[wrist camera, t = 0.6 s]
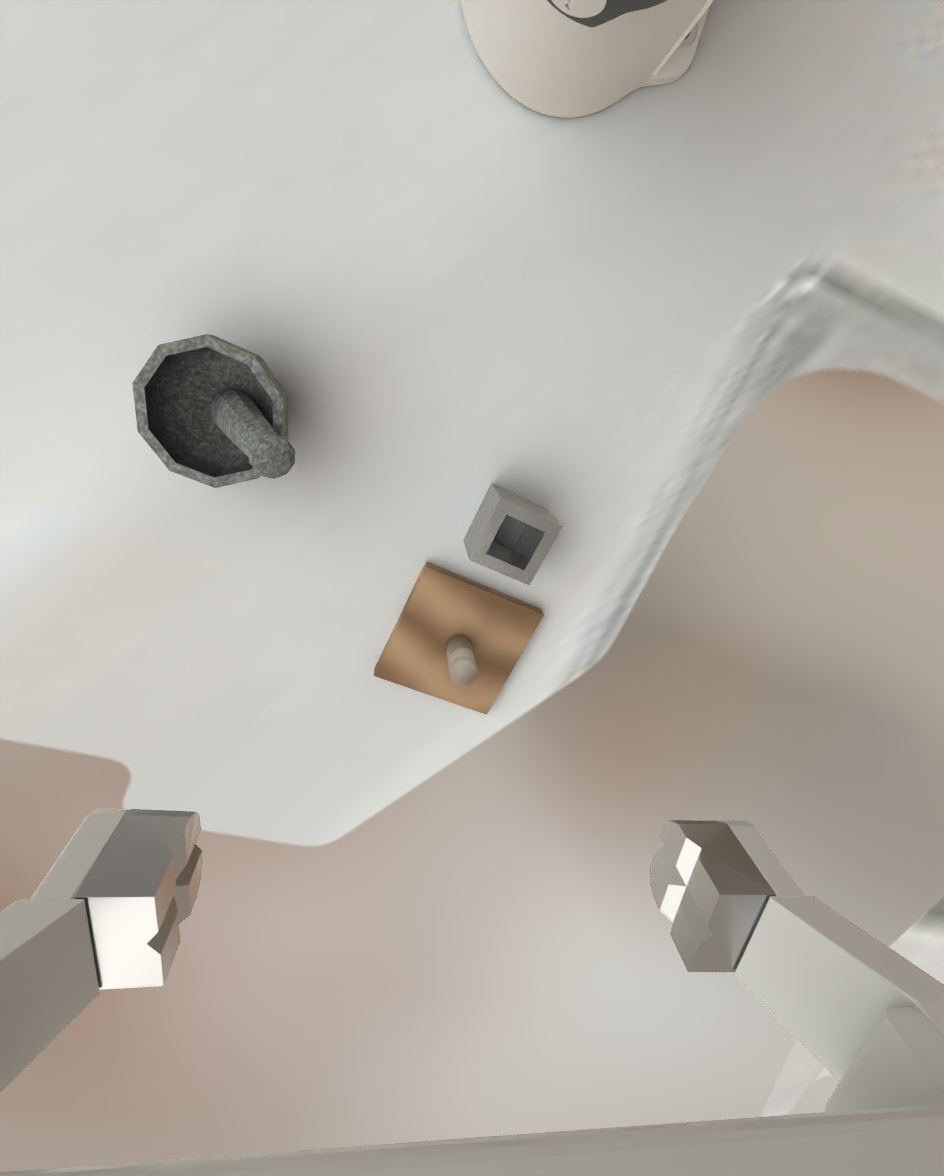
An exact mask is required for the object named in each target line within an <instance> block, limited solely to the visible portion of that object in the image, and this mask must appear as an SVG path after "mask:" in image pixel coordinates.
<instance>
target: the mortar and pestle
mask: <svg viewBox="0 0 944 1176" xmlns="http://www.w3.org/2000/svg"><path fill="white" fill-rule="evenodd" d="M133 392H134V401H135V410H136V419H137V429H138V432H139V433H140V435H141V436H142V437H143V438H144V440H145V441H146V442H147V443H148V444H149V446H150V447H151V448H152V449H153V451H154V452H155V453H156V454H157V456H158V457H159V458H160V459H161V460H162V462H163V463H164V464H165V465H166V467H167V468H168V469H169V470H170V471H172V472H175V473H177V474H180V475H182V476H185V477H188V478H190V479H193V480H196V481H198V482H201V483H204V484H206V485H209V486H212V487H214V488H217V487H221V486H226V485H230V484H235V483H239V482H243V481H248V480H252V479H257V478H259V477H260V476H265V477H269V478H273V479H274V478H277V477H280V476H282V475H285V474H287V473H288V471H289V470H290V469H291V467H292V466H293V465H294V462H295V450H294V449H293V447H292V446H291V445H290V443H289V442H288V396H287V395H286V393H285V392H284V390H283V389H282V387H281V386H280V384H279V383H278V381H277V380H276V378H275V377H274V375H273V374H272V372H271V371H270V369H269V368H268V366H267V365H266V364H265V362H264V361H263V359H262V358H261V357H260V356H258V355H256V354H254V353H252V352H249V351H247V350H245V349H243V348H240V347H238V346H236V345H234V344H231V343H229V342H227V341H225V340H222V339H220V338H218V337H216V336H213V335H202V336H197V337H193V338H188V339H184V340H179V341H174V342H170V343H165V344H161V345H158V346H157V348H156V349H155V351H154V352H153V354H152V355H151V357H150V358H149V360H148V361H147V362H146V364H145V365H144V367H143V368H142V370H141V371H140V373H139V374H138V376H137V377H136V379H135V380H134V381H133Z"/></svg>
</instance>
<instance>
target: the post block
mask: <svg viewBox="0 0 944 1176" xmlns="http://www.w3.org/2000/svg"><path fill="white" fill-rule="evenodd" d="M543 615H544V614H543V613H542V611H541V609H539V608H536V607H534V606H531V605H529V604H526V603H524V602H522V601H519V600H517V599H514V598H512V597H509V596H507V595H505V594H502V593H500V592H497V591H495V590H493V589H490V588H488V587H485V586H483V585H480V584H478V583H476V582H473V581H471V580H468V579H466V578H463V577H461V576H459V575H456V574H454V573H451V572H449V571H447V570H444V569H442V568H439V567H437V566H434V565H432V564H430V563H427V562H426V563H425V565H424V567H423V569H422V571H421V574H420V576H419V578H418V580H417V582H416V584H415V586H414V588H413V590H412V592H411V594H410V596H409V598H408V601H407V603H406V605H405V607H404V609H403V611H402V613H401V615H400V617H399V619H398V621H397V623H396V626H395V628H394V630H393V632H392V634H391V636H390V638H389V640H388V642H387V644H386V646H385V648H384V651H383V653H382V655H381V657H380V659H379V661H378V663H377V665H376V667H375V670H374V676H376V677H379V678H382V679H385V680H388V681H391V682H394V683H397V684H400V685H403V686H405V687H408V688H411V689H414V690H417V691H420V692H423V693H426V694H429V695H432V696H434V697H437V698H440V699H443V700H446V701H449V702H452V703H455V704H458V705H461V706H463V707H466V708H469V709H472V710H475V711H478V712H481V713H484V714H487V713H488V711H489V709H490V708H491V706H492V704H493V702H494V701H495V699H496V697H497V695H498V694H499V692H500V690H501V688H502V687H503V685H504V683H505V681H506V680H507V678H508V676H509V674H510V673H511V671H512V669H513V668H514V666H515V664H516V662H517V661H518V659H519V657H520V655H521V654H522V652H523V650H524V648H525V647H526V645H527V643H528V641H529V640H530V638H531V636H532V634H533V633H534V631H535V629H536V627H537V626H538V624H539V622H540V621H541V619H542V617H543Z"/></svg>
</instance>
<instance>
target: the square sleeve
mask: <svg viewBox="0 0 944 1176" xmlns="http://www.w3.org/2000/svg"><path fill="white" fill-rule="evenodd" d="M506 515H508V516H510V517H513V518H515V519H517V520H519V521H521V522H524V523H526V524H527V526H526V528H525V530H524V532H523V534H522V536H521V538H520V539H519V541H518V543H517V545H516V547H515V549H514V550H511V549H509V548H507V547H504V546H502V545H500V544H498V543H495V542H493V539H494V537H495V535H496V534H497V532H498V530H499V528H500V526H501V524H502V522H503V520H504V518H505V516H506ZM561 527H562V526H561V525H560V524H559V523H558V521H557V520H556V519H555V518H554V517H553V516H552V515H551V514H550V512H549V511H548V510H546V509H544V508H542V507H540V506H538V505H536V504H533V503H531V502H529V501H527V500H525V499H523V498H521V497H519V496H516V495H514V494H512V493H510V492H508V491H506V490H504V489H502V488H499V487H497V486H495V485H493V484H491V486H490V488H489V490H488V492H487V494H486V496H485V498H484V500H483V502H482V504H481V506H480V508H479V510H478V512H477V514H476V516H475V518H474V520H473V522H472V524H471V526H470V528H469V530H468V532H467V534H466V536H465V538H464V540H463V541H464V544H465V547H466V550H467V553H468V557H469V560H471V561H473V562H476V563H478V564H480V565H483V566H485V567H488V568H490V569H492V570H495V571H497V572H499V573H502V574H504V575H506V576H509V577H511V578H514V579H516V580H518V581H521V582H523V583H525V584H528V585H530V583H531V581H532V579H533V578H534V576H535V574H536V572H537V570H538V569H539V567H540V565H541V563H542V561H543V560H544V558H545V556H546V554H547V552H548V551H549V549H550V547H551V545H552V543H553V542H554V540H555V538H556V536H557V534H558V532H559V531H560V529H561Z"/></svg>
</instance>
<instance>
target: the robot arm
mask: <svg viewBox="0 0 944 1176" xmlns="http://www.w3.org/2000/svg"><path fill="white" fill-rule="evenodd" d="M713 1H714V0H461V4H462V9H463V14H464V18H465V21H466V25H467V28H468V31H469V34H470V37H471V39H472V42H473V44H474V47H475V49H476V51H477V53H478V55H479V57H480V58H481V60H482V62H483V64H484V65H485V67H486V68H487V70H488V71H489V73H490V74H491V76H492V77H493V78H494V79H495V81H496V82H497V83H498V84H499V85H500V86H501V87H502V88H503V89H504V90H505V91H506V92H507V93H508V94H509V95H510V96H511V97H513V98H514V99H515V100H517V101H518V102H519V103H521V104H523V105H524V106H526V107H528V108H530V109H532V110H534V111H537V112H539V113H542V114H545V115H549V116H554V117H564V118H571V117H580V116H586V115H589V114H593V113H596V112H598V111H601V110H603V109H605V108H607V107H609V106H611V105H612V104H614V103H616V102H617V101H619V100H620V99H622V98H623V97H624V96H626V95H627V94H629V93H630V92H632V91H634V90H636V89H638V88H640V87H642V86H653V85H661V84H667V83H670V82H673V81H676V80H678V79H679V78H680V77H681V76H682V75H683V74H684V73H685V72H686V70H687V69H688V67H689V66H690V64H691V63H692V60H693V58H694V55H695V52H696V49H697V46H698V43H699V40H700V36H701V33H702V30H703V27H704V24H705V21H706V18H707V15H708V11H709V8H710V5H711V3H712V2H713ZM684 38H685V40H684ZM200 830H201V827H200V817H199V814H198V813H197V812H187V811H164V810H140V809H130V810H123V809H102V808H101V809H100V808H97V809H95V810H94V811H92V812H91V813H90V814H88V815H87V816H86V818H85V819H84V820H83V822H82V823H81V825H80V826H79V828H78V829H77V831H76V832H75V834H74V835H73V837H72V838H71V840H70V841H69V843H68V844H67V846H66V847H65V849H64V850H63V851H62V853H61V854H60V856H59V857H58V859H57V860H56V862H55V863H54V865H53V866H52V868H51V869H50V871H49V872H48V874H47V875H46V876H45V878H44V880H43V881H42V883H41V884H40V886H39V887H38V888H37V890H36V891H35V893H34V894H33V896H32V897H31V899H27V900H26V899H25V900H17V901H16V902H14V903H13V904H11V905H10V906H8V907H7V908H5V909H3V910H2V911H0V1093H1V1092H2V1091H3V1090H4V1089H5V1088H6V1087H7V1086H8V1085H9V1084H10V1083H11V1082H12V1081H13V1080H14V1079H15V1078H16V1077H17V1076H18V1075H19V1074H20V1073H21V1072H22V1071H23V1070H24V1069H25V1068H26V1067H27V1066H28V1065H29V1064H30V1063H31V1062H32V1061H33V1060H34V1059H35V1058H36V1057H37V1056H38V1055H39V1054H40V1053H41V1052H42V1051H43V1050H44V1049H45V1048H46V1047H47V1046H48V1045H49V1044H50V1043H51V1042H52V1041H53V1040H54V1039H55V1038H56V1036H58V1035H59V1034H60V1033H61V1032H62V1031H63V1030H64V1029H65V1028H66V1026H68V1025H69V1024H70V1022H72V1020H74V1019H75V1018H76V1017H77V1015H78V1014H80V1013H81V1012H82V1011H83V1010H84V1009H85V1008H86V1007H87V1006H88V1004H89V1003H90V1002H91V1001H92V1000H93V999H94V998H95V997H96V996H97V995H98V994H99V989H115V988H132V987H150V986H164V983H165V980H166V978H167V975H168V972H169V970H170V967H171V964H172V962H173V959H174V956H175V954H176V951H177V949H178V946H179V943H180V932H179V924H180V923H181V922H182V921H183V920H184V919H185V918H187V917H188V916H189V915H190V914H191V911H192V908H193V905H194V903H195V900H196V897H197V893H198V888H199V884H200V880H201V872H202V850H201V849H200V848H199V847H198V846H197V845H196V844H195V843H196V840H197V838H198V835H199V833H200ZM660 837H661V839H662V840H663V842H664V844H665V846H664V847H663V848H661V849H660V850H659V851H658V852H656V853H655V854H654V856H653V860H652V863H651V867H650V885H651V888H652V893H653V897H654V899H655V901H656V904H657V906H658V908H659V910H660V911H661V912H662V913H663V914H664V915H666V916H667V917H668V918H669V919H670V920H671V921H672V922H673V925H672V929H671V936H672V939H673V941H674V943H675V945H676V947H677V949H678V952H679V954H680V956H681V958H682V960H683V962H684V964H685V966H686V969H687V971H688V972H735V973H734V975H735V976H736V977H737V978H738V979H739V980H740V981H741V982H742V983H743V984H744V985H745V986H746V987H747V988H748V989H749V991H750V992H751V993H752V994H754V996H756V997H757V999H758V1000H759V1001H760V1002H761V1003H762V1004H763V1005H764V1006H765V1007H767V1009H768V1010H769V1011H770V1012H771V1013H772V1014H773V1015H774V1016H775V1017H776V1018H777V1019H778V1020H779V1021H780V1022H781V1023H782V1024H783V1025H784V1026H785V1027H786V1028H787V1029H788V1030H789V1031H790V1032H791V1033H792V1034H793V1035H794V1036H795V1037H796V1038H797V1039H798V1040H799V1041H800V1042H801V1043H802V1044H803V1045H804V1046H805V1047H806V1048H807V1049H808V1050H809V1051H810V1052H811V1053H812V1054H813V1055H814V1056H815V1057H816V1058H817V1059H818V1060H819V1061H820V1062H821V1064H822V1065H823V1066H824V1067H825V1068H826V1069H827V1070H828V1071H829V1072H830V1073H831V1074H832V1075H833V1076H835V1078H836V1079H837V1080H838V1081H839V1082H840V1083H839V1084H838V1086H837V1088H836V1089H835V1091H834V1092H833V1094H832V1096H831V1097H830V1099H829V1100H828V1102H827V1105H826V1109H825V1112H824V1113H812V1114H798V1115H783V1116H770V1117H756V1118H743V1119H728V1120H714V1121H701V1122H687V1123H673V1124H660V1125H646V1126H645V1125H644V1126H630V1127H617V1128H602V1129H590V1130H589V1129H588V1130H574V1131H560V1132H546V1133H533V1134H518V1135H505V1136H491V1137H477V1138H464V1139H451V1140H436V1141H423V1142H410V1143H395V1144H383V1145H368V1146H354V1147H341V1148H327V1149H314V1150H299V1151H286V1152H272V1153H258V1154H244V1155H231V1156H217V1157H203V1158H189V1159H176V1160H162V1161H150V1162H149V1161H148V1162H135V1163H120V1164H107V1165H95V1166H94V1165H93V1166H79V1167H65V1168H52V1169H38V1170H25V1171H11V1172H0V1176H944V985H943V984H942V983H940V982H939V981H938V980H936V979H935V978H933V977H932V976H930V975H929V974H927V973H926V972H924V971H923V970H921V969H920V968H918V967H917V966H915V965H914V964H913V963H911V962H910V961H908V960H907V959H905V958H904V957H902V956H901V955H899V954H898V953H896V952H895V951H893V950H892V949H890V948H889V947H887V946H886V945H885V944H883V943H882V942H880V941H879V940H877V939H876V938H874V937H873V936H871V935H870V934H868V933H867V932H865V931H864V930H862V929H861V928H859V927H858V926H856V925H855V924H854V923H852V922H851V921H849V920H848V919H846V918H845V917H843V916H842V915H840V914H839V913H837V912H836V911H834V910H833V909H831V908H830V907H829V906H827V905H826V904H824V903H823V902H821V901H820V900H818V899H817V898H815V897H814V896H805V895H804V894H803V892H802V891H801V889H800V888H799V887H798V885H797V884H796V883H795V881H794V880H793V878H792V877H791V876H790V874H789V873H788V872H787V870H786V869H785V868H784V866H783V865H782V864H781V863H780V861H779V860H778V858H777V857H776V856H775V854H774V853H773V852H772V850H771V849H770V848H769V846H768V845H767V843H766V842H765V841H764V839H763V838H762V837H761V835H760V834H759V833H758V832H757V830H756V829H755V827H754V826H753V825H751V824H750V823H748V822H747V821H692V820H690V821H689V820H684V821H683V820H670V821H669V822H668V823H666V824H665V826H664V828H663V830H662V833H661V836H660Z"/></svg>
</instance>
